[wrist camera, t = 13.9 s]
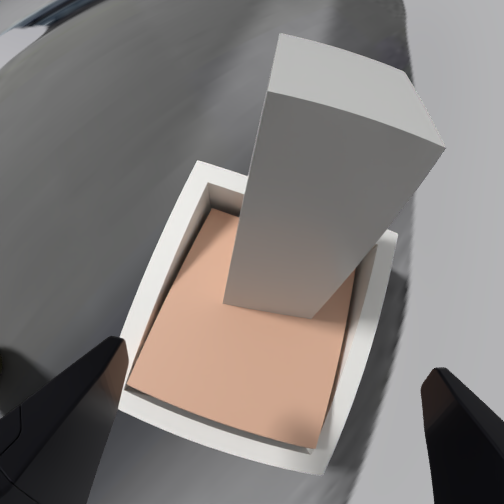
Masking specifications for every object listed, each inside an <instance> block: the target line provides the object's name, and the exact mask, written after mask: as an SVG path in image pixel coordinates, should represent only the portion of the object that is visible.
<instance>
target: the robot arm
mask: <svg viewBox="0 0 504 504" xmlns="http://www.w3.org/2000/svg"><path fill="white" fill-rule="evenodd" d="M128 365H129V357H128V352H127V346H126V341H125V339H123V338H120V337H115V336H110V337H108V338H107V339H105V340H104V341H103V342H101V343H100V344H99V345H97V346H96V347H95V348H93V349H92V350H91V351H89V352H88V353H87V354H85V355H84V356H83V357H81V358H80V359H79V360H77V361H76V362H75V363H73V364H72V365H71V366H69V367H68V368H67V369H65V370H64V371H63V372H61V373H60V374H59V375H57V376H56V377H55V378H54V379H52V380H51V381H50V382H48V383H47V384H46V385H44V386H43V387H42V388H40V389H39V390H38V391H37V392H35V393H34V394H33V395H31V396H30V397H29V398H27V399H26V400H25V401H24V402H22V403H21V406H20V405H18V406H17V407H16V408H14V409H13V410H12V411H10V412H9V413H8V414H6V415H5V416H4V417H2V418H1V419H0V504H86V503H87V500H88V497H89V494H90V490H91V487H92V484H93V481H94V478H95V475H96V471H97V468H98V465H99V462H100V459H101V456H102V453H103V450H104V448H105V445H106V442H107V439H108V436H109V433H110V430H111V428H112V425H113V422H114V419H115V416H116V413H117V410H118V406H119V402H120V397H121V393H122V389H123V385H124V381H125V377H126V373H127V369H128ZM421 398H422V408H423V419H424V431H425V438H426V444H427V450H428V456H429V463H430V470H431V478H432V486H433V495H434V504H504V422H503V420H501V418H499V417H498V416H497V415H496V414H495V413H494V412H493V411H492V410H491V409H490V408H489V407H488V406H487V405H486V404H485V403H484V402H483V401H482V400H480V399H479V398H478V397H477V396H476V395H475V394H474V393H473V392H472V391H471V390H469V388H468V387H466V386H465V385H464V384H463V383H462V382H461V381H460V380H459V379H458V378H457V377H455V376H454V375H453V374H452V373H451V372H450V371H449V370H448V369H447V368H444V367H443V368H442V367H441V368H434V369H433V370H432V371H431V373H430V374H429V376H428V377H427V379H426V380H425V381H424V382H423V384H422V387H421Z"/></svg>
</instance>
